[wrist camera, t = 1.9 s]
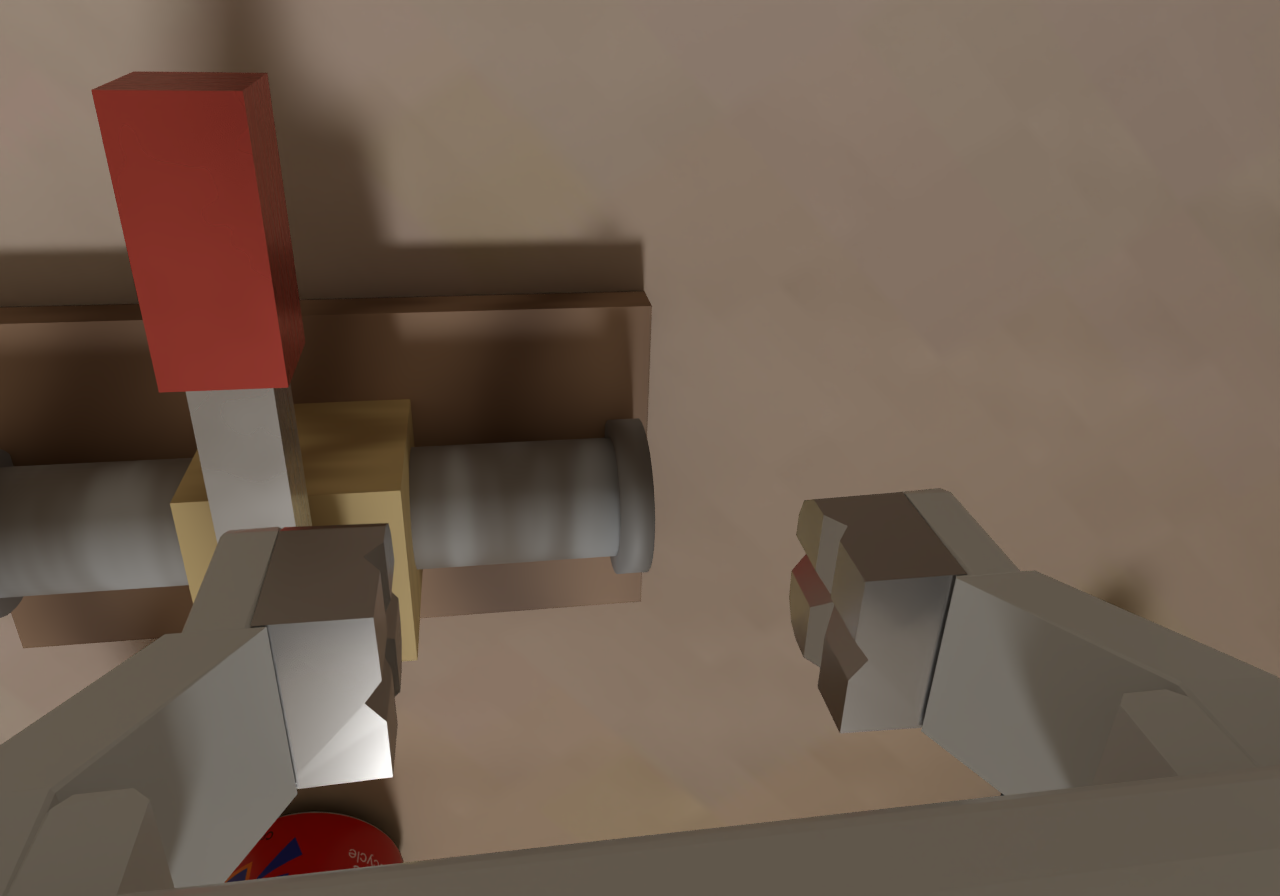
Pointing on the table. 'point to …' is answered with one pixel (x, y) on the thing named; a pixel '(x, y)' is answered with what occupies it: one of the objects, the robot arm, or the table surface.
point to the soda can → (316, 847)
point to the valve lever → (214, 276)
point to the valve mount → (337, 458)
